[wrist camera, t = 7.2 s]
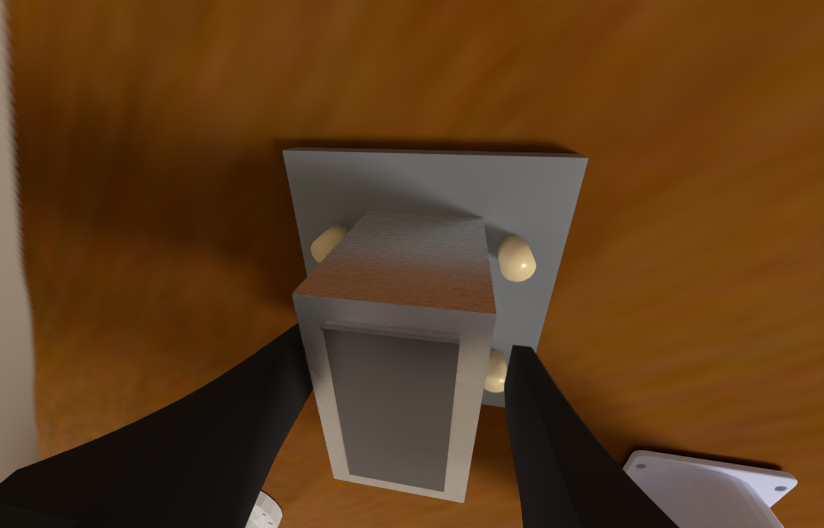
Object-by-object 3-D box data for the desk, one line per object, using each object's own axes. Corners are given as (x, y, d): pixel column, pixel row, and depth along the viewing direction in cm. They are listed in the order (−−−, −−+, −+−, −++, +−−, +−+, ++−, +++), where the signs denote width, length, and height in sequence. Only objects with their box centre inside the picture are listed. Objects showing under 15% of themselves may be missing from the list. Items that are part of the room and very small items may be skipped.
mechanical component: (180, 461, 29) (208, 508, 34) (137, 515, 25) (175, 560, 30) (275, 482, 28) (290, 529, 33) (244, 543, 24) (266, 585, 29)
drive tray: (517, 393, 17) (525, 436, 15) (334, 369, 18) (316, 404, 16) (578, 153, 11) (607, 166, 9) (295, 146, 12) (258, 156, 10)
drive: (465, 366, 15) (463, 508, 10) (377, 355, 16) (332, 483, 11) (483, 217, 11) (497, 318, 6) (367, 211, 12) (288, 297, 7)
